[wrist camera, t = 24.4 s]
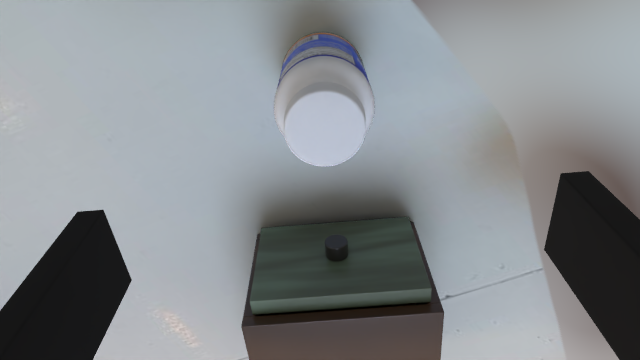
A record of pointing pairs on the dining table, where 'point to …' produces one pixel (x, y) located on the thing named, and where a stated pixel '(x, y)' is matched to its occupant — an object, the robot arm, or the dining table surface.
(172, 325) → the dining table surface
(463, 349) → the dining table surface
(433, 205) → the dining table surface
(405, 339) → the cabinet
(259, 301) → the drawer
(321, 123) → the pill bottle
